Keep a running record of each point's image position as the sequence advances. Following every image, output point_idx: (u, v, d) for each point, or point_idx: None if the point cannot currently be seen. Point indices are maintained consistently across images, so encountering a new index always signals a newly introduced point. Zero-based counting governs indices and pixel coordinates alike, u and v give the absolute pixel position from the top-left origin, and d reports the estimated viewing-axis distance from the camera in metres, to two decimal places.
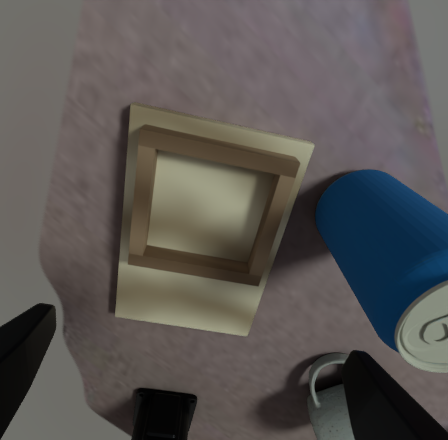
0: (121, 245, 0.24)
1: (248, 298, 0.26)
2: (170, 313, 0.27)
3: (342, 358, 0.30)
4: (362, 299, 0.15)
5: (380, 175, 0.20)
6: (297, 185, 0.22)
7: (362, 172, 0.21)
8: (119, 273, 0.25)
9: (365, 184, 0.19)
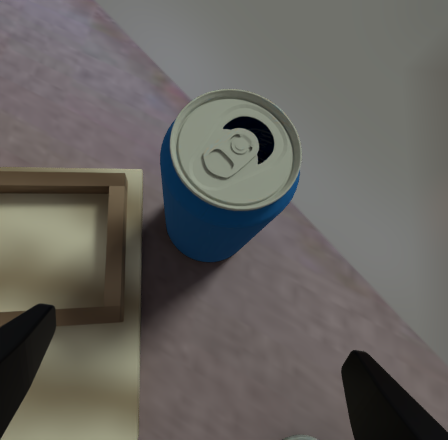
0: None
1: (121, 364, 0.20)
2: (7, 430, 0.18)
3: (289, 437, 0.20)
4: (167, 196, 0.14)
5: None
6: (138, 205, 0.23)
7: None
8: None
9: None
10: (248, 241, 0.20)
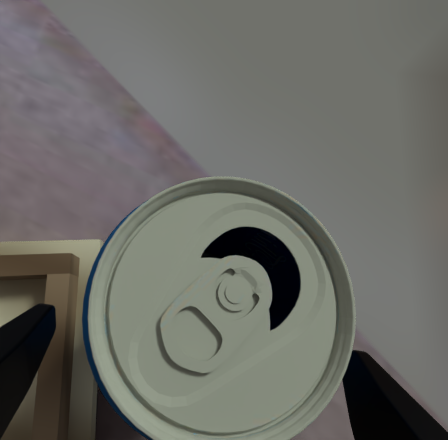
0: None
1: None
2: None
3: None
4: None
5: None
6: None
7: None
8: None
9: None
10: None
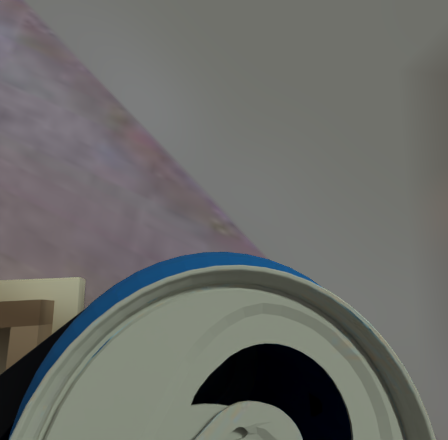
0: None
1: None
2: None
3: None
4: None
5: None
6: None
7: None
8: None
9: None
10: None
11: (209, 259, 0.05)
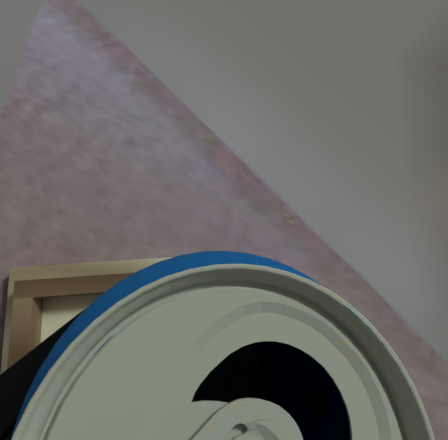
0: None
1: None
2: None
3: None
4: None
5: None
6: None
7: None
8: None
9: None
10: None
11: (210, 258, 0.05)
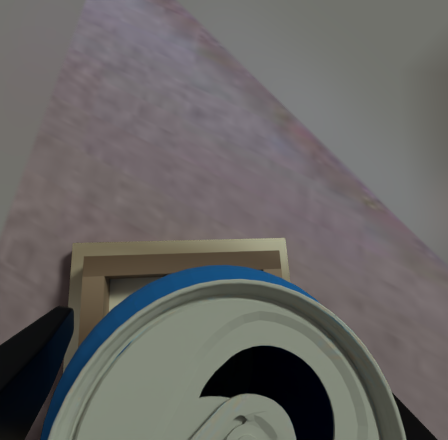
0: None
1: None
2: None
3: None
4: None
5: None
6: None
7: None
8: None
9: None
10: None
11: (213, 272, 0.06)
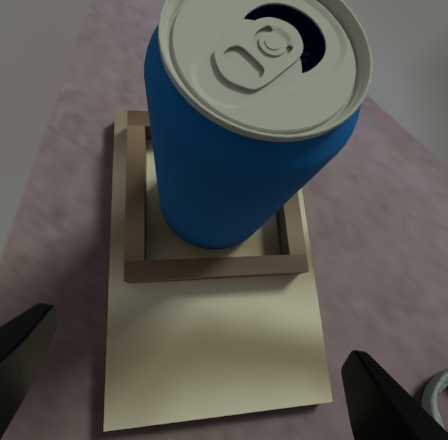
0: (110, 274, 0.17)
1: (304, 319, 0.18)
2: (199, 389, 0.16)
3: None
4: (157, 136, 0.09)
5: None
6: None
7: None
8: (109, 326, 0.16)
9: None
10: (269, 218, 0.15)
11: None
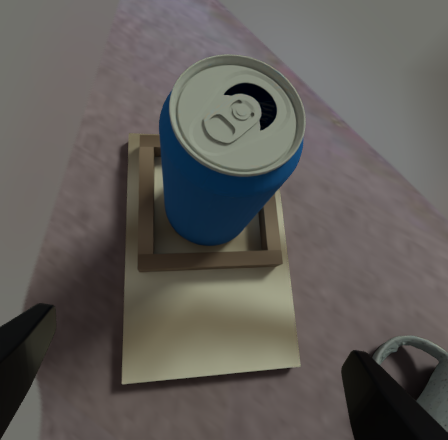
0: (126, 265, 0.22)
1: (279, 302, 0.23)
2: (195, 354, 0.21)
3: (394, 338, 0.23)
4: (166, 167, 0.14)
5: None
6: None
7: None
8: (125, 305, 0.21)
9: None
10: (249, 221, 0.19)
11: None
